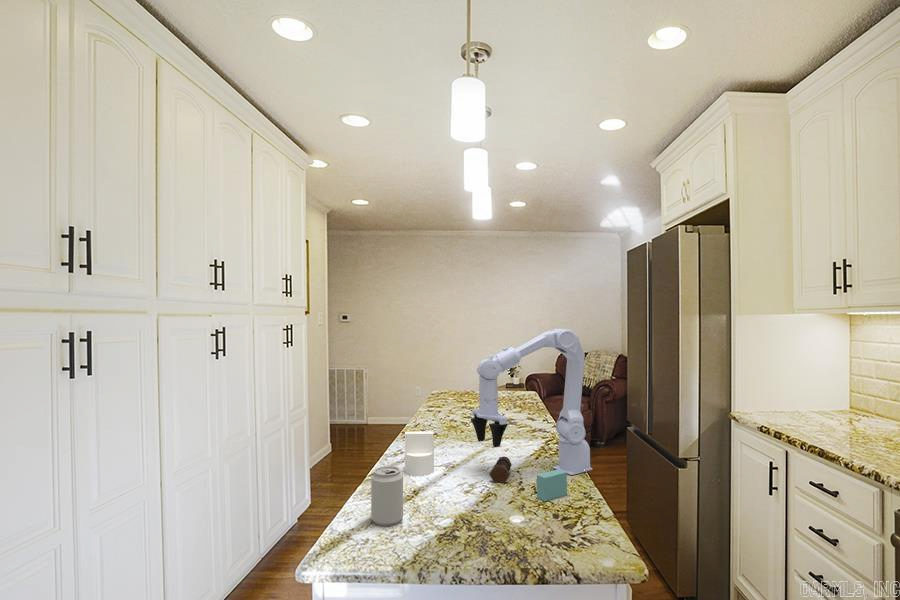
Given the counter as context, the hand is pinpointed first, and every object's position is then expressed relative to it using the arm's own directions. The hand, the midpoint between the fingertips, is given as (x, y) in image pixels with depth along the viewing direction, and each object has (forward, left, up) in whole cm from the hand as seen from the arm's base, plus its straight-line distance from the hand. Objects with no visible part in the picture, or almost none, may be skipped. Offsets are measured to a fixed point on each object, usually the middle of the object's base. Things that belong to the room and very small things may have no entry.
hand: (488, 443), depth 142 cm
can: (+39, +12, -9) cm, 42 cm away
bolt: (-3, +3, -10) cm, 10 cm away
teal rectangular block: (-3, +22, -9) cm, 24 cm away
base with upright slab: (+16, -14, -9) cm, 24 cm away
